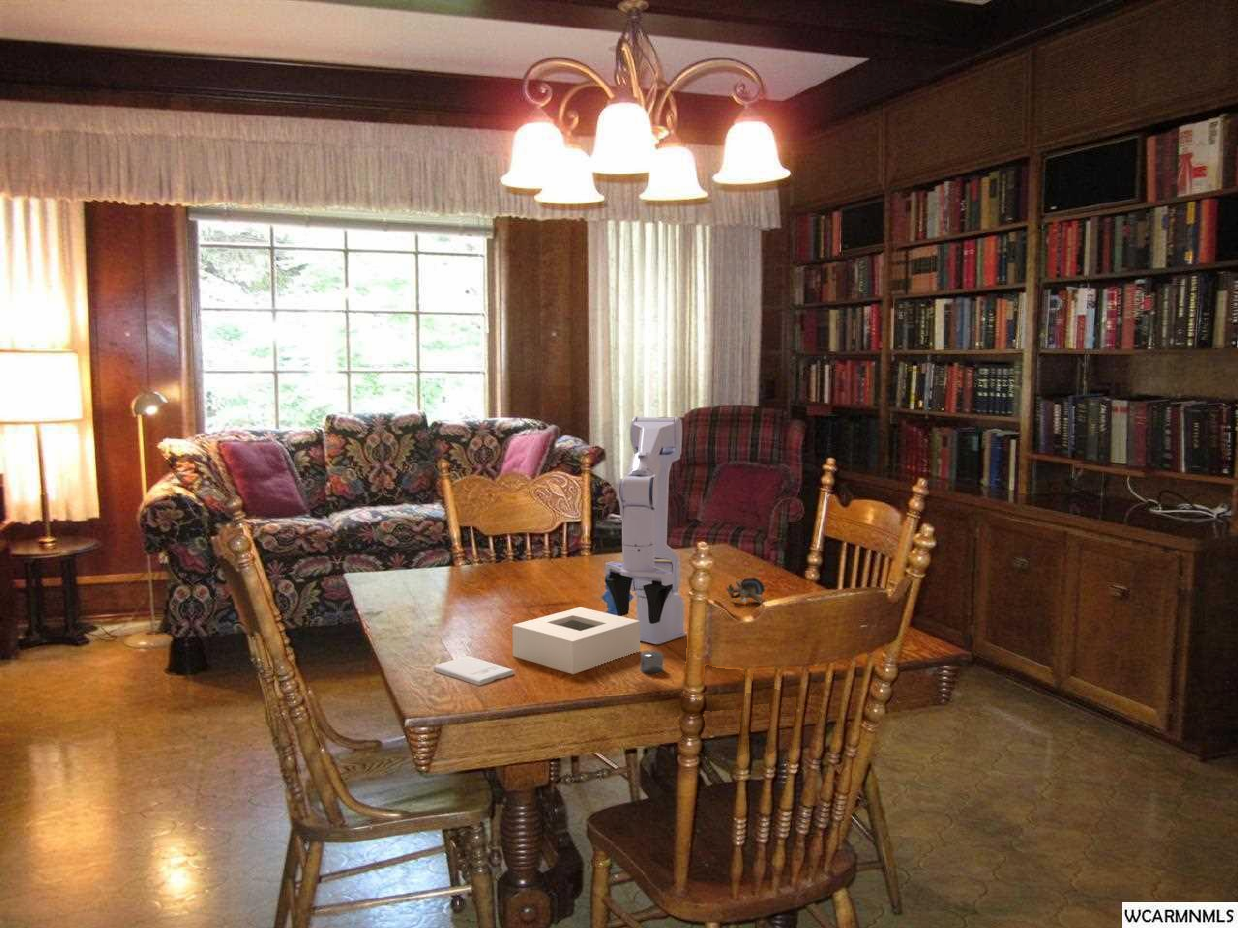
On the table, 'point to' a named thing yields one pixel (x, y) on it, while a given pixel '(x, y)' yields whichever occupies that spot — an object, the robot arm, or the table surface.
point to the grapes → (611, 600)
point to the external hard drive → (473, 670)
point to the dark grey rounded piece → (651, 662)
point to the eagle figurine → (748, 590)
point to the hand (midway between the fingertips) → (638, 618)
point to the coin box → (576, 639)
